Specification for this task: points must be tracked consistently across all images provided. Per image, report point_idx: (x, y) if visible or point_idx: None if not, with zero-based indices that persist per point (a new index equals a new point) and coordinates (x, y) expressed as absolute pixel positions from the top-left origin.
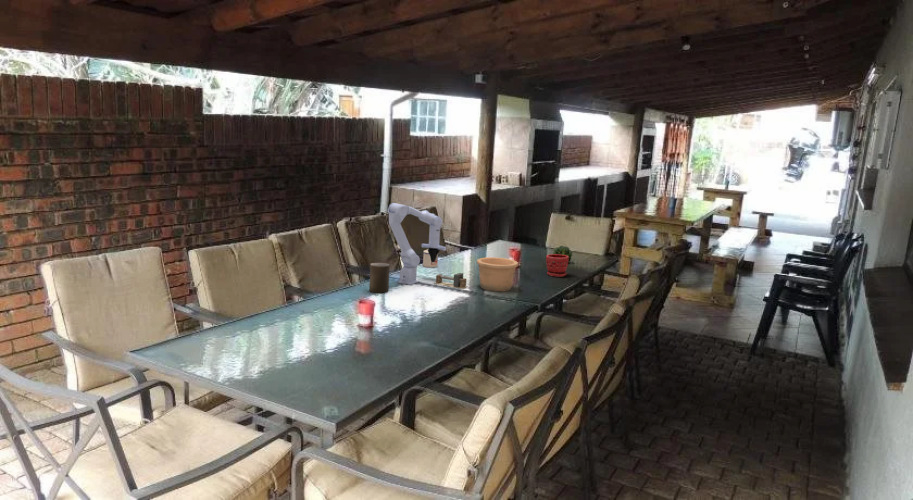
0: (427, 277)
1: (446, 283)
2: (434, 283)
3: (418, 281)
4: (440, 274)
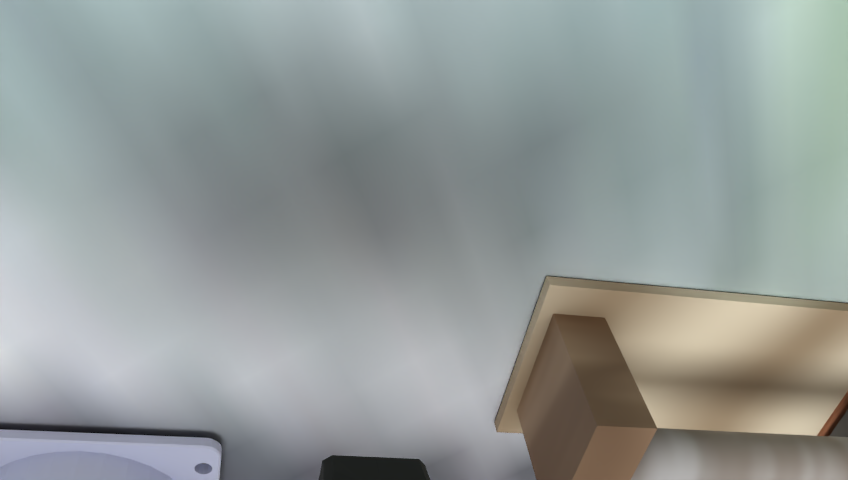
0: (151, 40)
1: (694, 351)
2: (501, 431)
3: (219, 471)
4: (616, 438)
